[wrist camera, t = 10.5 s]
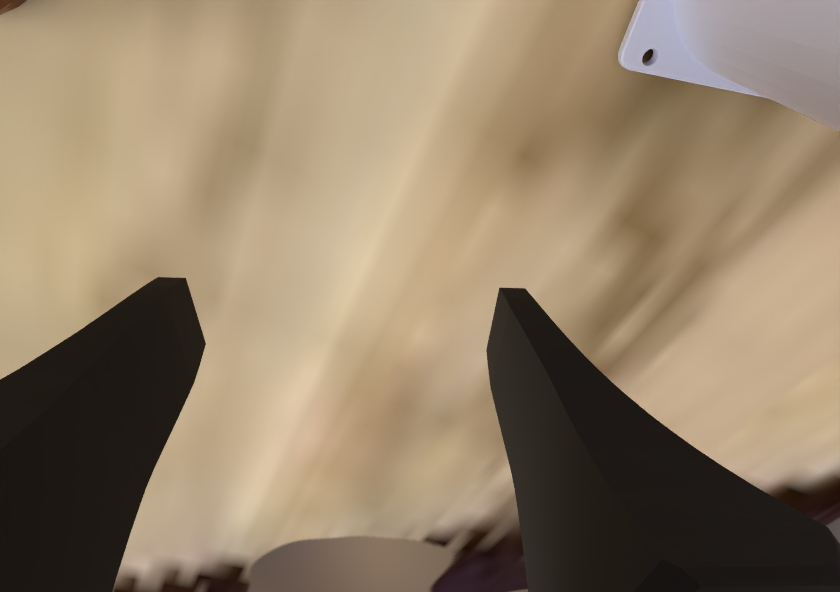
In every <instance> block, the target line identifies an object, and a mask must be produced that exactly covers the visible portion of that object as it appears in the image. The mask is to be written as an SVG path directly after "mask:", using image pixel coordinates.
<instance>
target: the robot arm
mask: <svg viewBox="0 0 840 592" xmlns="http://www.w3.org/2000/svg"><path fill="white" fill-rule="evenodd" d="M649 49H652V50H653V56H652V58H651V59H650V60H649V61H648V62H646V63H643V62H642V57H643V55H644V53H645V52H646V51H648V50H649ZM618 61H619V63H620V64H621V66H623V67H624V68H626V69H628V70H632V71H637V72H642V73H646V74H651V75H656V76H661V77H666V78H671V79H676V80H681V81H686V82H691V83H695V84H700V85H705V86H710V87H715V88H720V89H725V90H730V91H735V92H740V93H745V94H749V95H754V96H759V97H764V98H769V99H771V100H773V101H775V102H777V103H779V104H781V105H784V106H786V107H788V108H790V109H792V110H794V111H796V112H798V113H801V114H803V115H805V116H807V117H809V118H811V119H813V120H815V121H818V122H820V123H822V124H824V125H826V126H828V127H830V128H832V129H835V130H837V131H839V132H840V0H639V1H638V4H637V6H636V9H635V11H634V14H633V16H632V19H631V21H630V24H629V26H628V29H627V31H626V34H625V36H624V39H623V41H622V44H621V46H620V49H619V53H618ZM205 344H206V343H205V340H204V336H203V333H202V330H201V327H200V323H199V320H198V317H197V314H196V310H195V307H194V304H193V300H192V297H191V294H190V291H189V287H188V284H187V281H186V278H166V277H158V278H156V279H154V280H153V281H151V282H149V283H148V284H146V285H145V286H143V287H142V288H140V289H139V290H137V291H136V292H135V293H133V294H132V295H130V296H129V297H127V298H126V299H124V300H123V301H122V302H120V303H119V304H117V305H116V306H114V307H113V308H112V309H110V310H109V311H107V312H106V313H104V314H103V315H101V316H100V317H98V318H97V319H96V320H94V321H93V322H91V323H90V324H88V325H87V326H85V327H84V328H82V329H81V330H80V331H78V332H77V333H75V334H74V335H72V336H71V337H69V338H67V339H66V340H64V341H63V342H61V343H59V344H58V345H56V346H55V347H53V348H52V349H50V350H48V351H47V352H45V353H44V354H42V355H41V356H39V357H37V358H36V359H34V360H33V361H31V362H30V363H28V364H26V365H25V366H23V367H21V368H20V369H18V370H16V371H15V372H13V373H11V374H9V375H8V376H6V377H4V378H2V379H1V380H0V592H112V591H113V587H114V584H115V580H116V577H117V574H118V570H119V567H120V564H121V561H122V558H123V555H124V551H125V548H126V545H127V542H128V539H129V536H130V532H131V529H132V527H133V524H134V521H135V518H136V515H137V512H138V509H139V506H140V503H141V501H142V498H143V495H144V492H145V489H146V487H147V484H148V482H149V479H150V477H151V475H152V472H153V470H154V468H155V465H156V463H157V461H158V459H159V457H160V455H161V453H162V451H163V448H164V446H165V444H166V442H167V440H168V438H169V436H170V434H171V431H172V429H173V427H174V425H175V423H176V421H177V419H178V417H179V414H180V412H181V410H182V408H183V406H184V404H185V401H186V399H187V397H188V395H189V393H190V390H191V388H192V386H193V384H194V381H195V378H196V375H197V372H198V369H199V366H200V362H201V359H202V355H203V351H204V348H205ZM487 359H488V369H489V377H490V385H491V391H492V395H493V399H494V403H495V407H496V412H497V416H498V420H499V424H500V428H501V432H502V436H503V440H504V444H505V448H506V452H507V456H508V460H509V464H510V468H511V473H512V478H513V483H514V488H515V494H516V501H517V508H518V515H519V522H520V529H521V536H522V544H523V552H524V560H525V568H526V576H527V585H528V592H840V543H839V542H838V541H837V539H836V538H835V536H834V535H833V534H832V532H831V531H830V530H829V529H828V528H827V527H826V526H824V525H822V524H821V523H819V522H817V521H815V520H813V519H812V518H810V517H808V516H806V515H804V514H803V513H801V512H799V511H797V510H796V509H794V508H792V507H790V506H788V505H787V504H785V503H783V502H781V501H779V500H778V499H776V498H774V497H772V496H771V495H769V494H767V493H765V492H763V491H762V490H760V489H758V488H757V487H755V486H753V485H752V484H750V483H748V482H747V481H745V480H744V479H742V478H740V477H739V476H737V475H736V474H734V473H733V472H731V471H729V470H728V469H726V468H725V467H723V466H721V465H720V464H718V463H717V462H715V461H714V460H712V459H711V458H709V457H708V456H706V455H705V454H703V453H702V452H700V451H699V450H697V449H696V448H694V447H693V446H692V445H690V444H689V443H687V442H686V441H685V440H683V439H682V438H681V437H679V436H678V435H676V434H675V433H674V432H672V431H671V430H669V429H668V428H667V427H665V426H664V425H663V424H661V423H660V422H659V421H657V420H656V419H655V418H654V417H652V416H651V415H650V414H648V413H647V412H646V411H645V410H644V409H642V408H641V407H640V406H639V405H638V404H636V403H635V402H634V401H633V400H632V399H630V398H629V397H628V396H627V395H626V394H624V393H623V392H622V391H621V390H620V389H619V388H618V387H617V386H615V385H614V384H613V383H612V382H611V381H610V380H609V379H608V378H607V377H606V376H605V375H604V374H603V373H602V372H601V371H599V370H598V369H597V368H596V367H595V366H594V365H593V364H592V363H591V362H590V361H589V360H588V359H587V358H586V357H585V356H584V355H583V354H582V353H581V352H580V351H579V350H578V348H577V347H576V346H575V345H574V344H573V343H572V342H571V341H570V340H569V339H568V338H567V337H566V336H565V334H564V333H563V332H562V331H561V330H560V329H559V328H558V326H557V325H556V324H555V323H554V322H553V321H552V320H551V318H550V317H549V316H548V315H547V314H546V313H545V311H544V310H543V309H542V308H541V307H540V305H539V304H538V303H537V302H536V301H535V300H534V298H533V297H532V296H531V295H530V294H529V293H528V291H527V290H526V289H523V288H499V293H498V297H497V302H496V307H495V312H494V317H493V321H492V326H491V331H490V336H489V340H488V345H487Z"/></svg>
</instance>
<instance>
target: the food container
mask: <svg viewBox="0 0 840 592" xmlns="http://www.w3.org/2000/svg"><path fill="white" fill-rule="evenodd" d="M25 1H26V0H0V14H2V13H5V12H7V11H9V10H12V9H14V8H16V7H18V6H20V5H21V4H22V3H24V2H25Z"/></svg>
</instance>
